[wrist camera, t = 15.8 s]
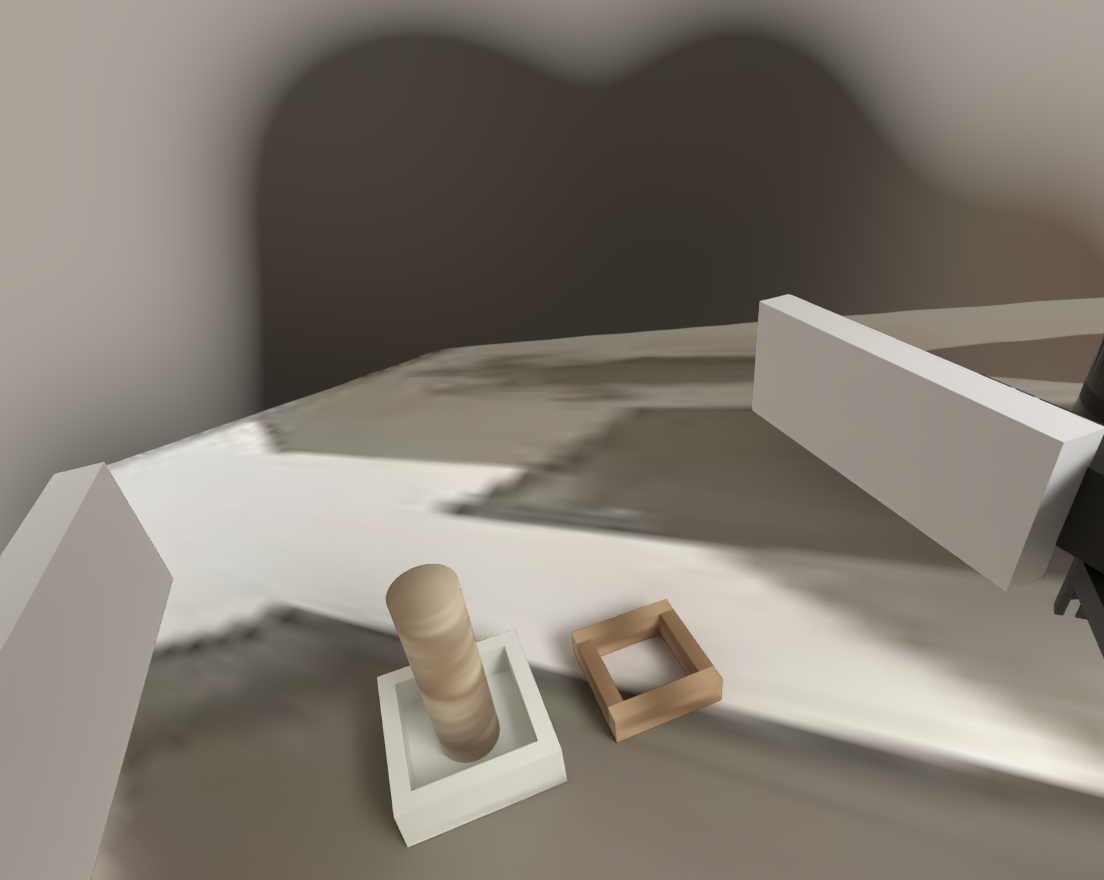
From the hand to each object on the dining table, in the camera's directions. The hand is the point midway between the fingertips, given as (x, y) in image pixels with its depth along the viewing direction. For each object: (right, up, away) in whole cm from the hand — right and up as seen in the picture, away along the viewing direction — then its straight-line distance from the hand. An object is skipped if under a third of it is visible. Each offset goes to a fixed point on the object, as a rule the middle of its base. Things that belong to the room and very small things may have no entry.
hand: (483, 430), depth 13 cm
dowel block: (+7, -15, +27) cm, 32 cm away
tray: (-3, -18, +24) cm, 31 cm away
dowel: (-4, -18, +24) cm, 30 cm away
